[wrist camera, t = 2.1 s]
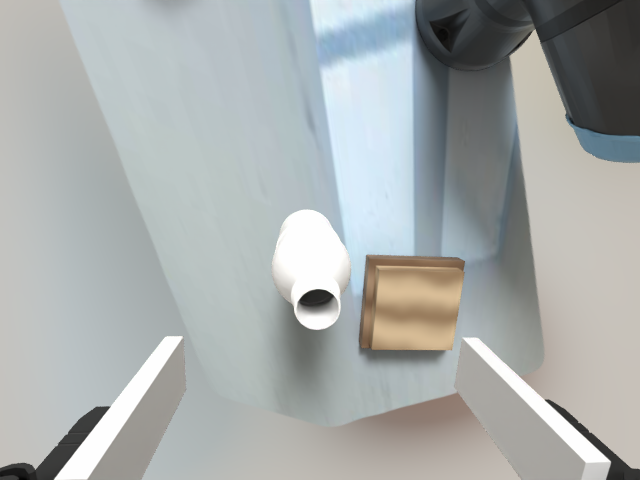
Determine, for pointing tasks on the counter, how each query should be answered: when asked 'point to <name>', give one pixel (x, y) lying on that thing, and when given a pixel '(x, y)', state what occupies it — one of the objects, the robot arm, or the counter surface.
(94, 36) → the counter surface
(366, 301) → the walnut slab
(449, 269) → the oak slab
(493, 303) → the counter surface
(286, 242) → the water bottle
